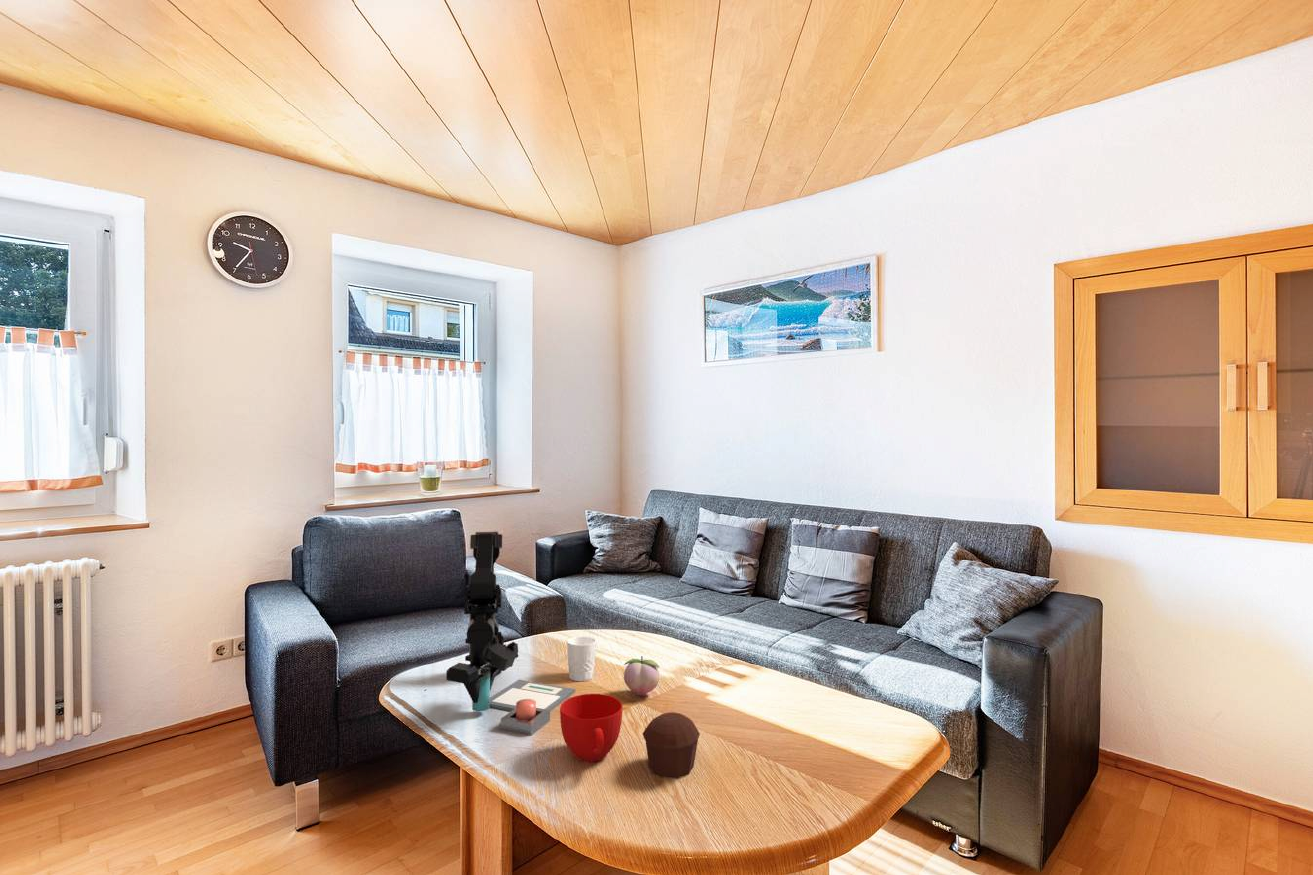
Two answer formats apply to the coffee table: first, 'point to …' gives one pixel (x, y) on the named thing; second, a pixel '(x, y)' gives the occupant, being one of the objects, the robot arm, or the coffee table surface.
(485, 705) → the marker
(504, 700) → the drawing board
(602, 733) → the ceramic cup
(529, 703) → the button
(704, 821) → the coffee table surface
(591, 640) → the white cup
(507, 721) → the button housing
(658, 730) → the muffin
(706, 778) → the coffee table surface
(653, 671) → the decorative fruit
